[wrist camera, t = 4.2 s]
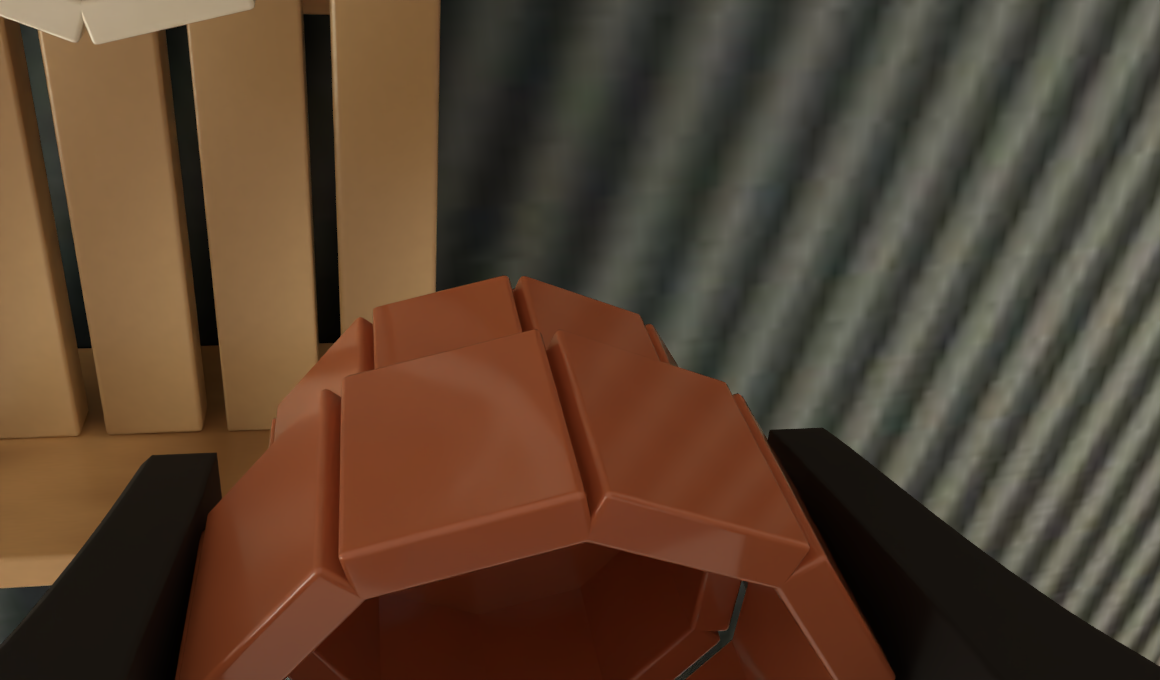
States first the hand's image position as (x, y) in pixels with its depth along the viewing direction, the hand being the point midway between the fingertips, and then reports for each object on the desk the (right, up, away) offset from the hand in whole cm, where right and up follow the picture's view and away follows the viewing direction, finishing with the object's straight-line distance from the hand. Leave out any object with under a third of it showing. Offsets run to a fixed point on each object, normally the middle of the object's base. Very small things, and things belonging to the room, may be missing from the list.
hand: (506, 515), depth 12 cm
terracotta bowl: (0, +1, +1) cm, 1 cm away
